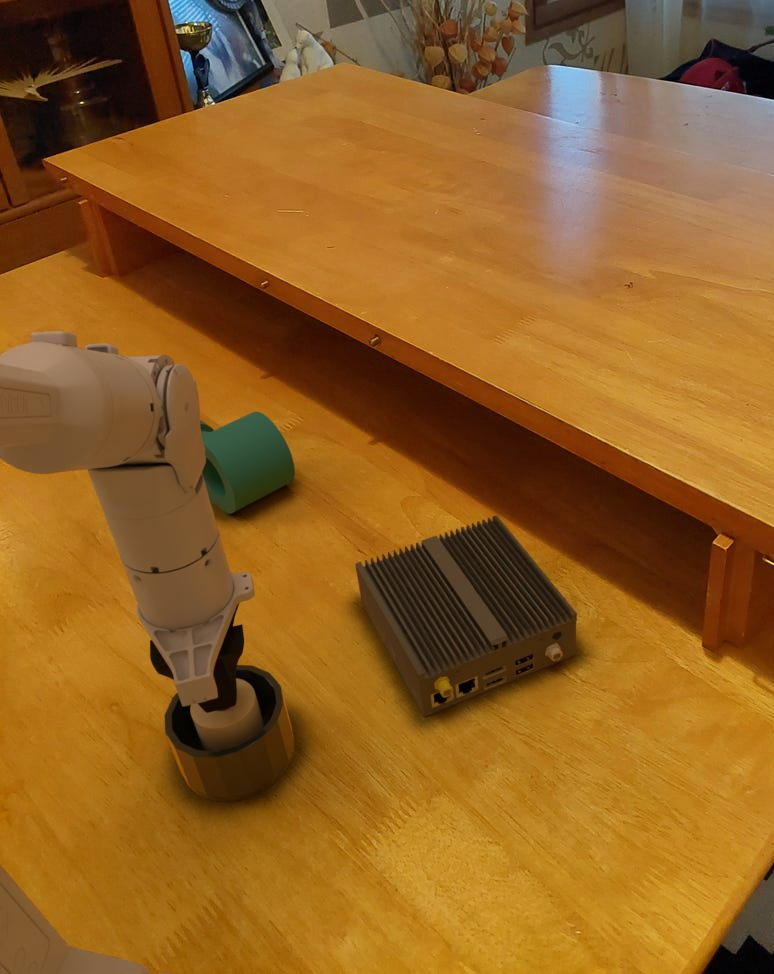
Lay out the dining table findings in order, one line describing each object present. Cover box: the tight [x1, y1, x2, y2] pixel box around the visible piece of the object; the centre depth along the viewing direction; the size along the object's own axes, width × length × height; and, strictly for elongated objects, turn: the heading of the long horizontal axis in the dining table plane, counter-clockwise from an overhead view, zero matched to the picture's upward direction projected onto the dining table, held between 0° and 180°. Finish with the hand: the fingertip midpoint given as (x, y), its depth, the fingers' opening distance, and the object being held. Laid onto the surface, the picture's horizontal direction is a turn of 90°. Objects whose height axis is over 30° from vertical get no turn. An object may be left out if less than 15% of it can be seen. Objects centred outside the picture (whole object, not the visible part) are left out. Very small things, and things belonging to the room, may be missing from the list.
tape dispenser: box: [200, 411, 296, 515], centre depth 92 cm, size 7×15×8 cm, turn 43°
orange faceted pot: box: [164, 664, 296, 803], centre depth 65 cm, size 8×8×5 cm
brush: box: [190, 678, 263, 751], centre depth 63 cm, size 4×4×8 cm
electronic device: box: [354, 514, 578, 718], centre depth 74 cm, size 13×15×5 cm
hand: (219, 693), depth 63 cm, fingers closed on brush
